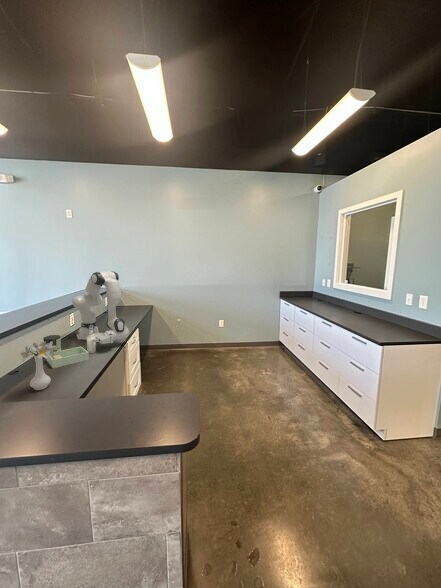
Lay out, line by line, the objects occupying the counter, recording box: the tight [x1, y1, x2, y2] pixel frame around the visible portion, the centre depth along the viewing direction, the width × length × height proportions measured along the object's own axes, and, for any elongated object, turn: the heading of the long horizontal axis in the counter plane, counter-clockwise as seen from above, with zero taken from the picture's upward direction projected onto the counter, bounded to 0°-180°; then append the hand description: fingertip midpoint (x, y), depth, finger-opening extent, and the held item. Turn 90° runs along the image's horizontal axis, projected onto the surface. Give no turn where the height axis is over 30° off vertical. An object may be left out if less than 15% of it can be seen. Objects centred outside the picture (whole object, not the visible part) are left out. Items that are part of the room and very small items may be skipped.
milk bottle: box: [86, 328, 97, 354], centre depth 189 cm, size 6×6×19 cm
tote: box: [46, 346, 90, 369], centre depth 172 cm, size 16×22×6 cm
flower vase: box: [20, 341, 57, 391], centre depth 136 cm, size 13×18×25 cm
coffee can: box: [43, 334, 62, 352], centre depth 180 cm, size 10×10×14 cm
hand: (89, 340), depth 189 cm, fingers closed on milk bottle, 6 cm apart
